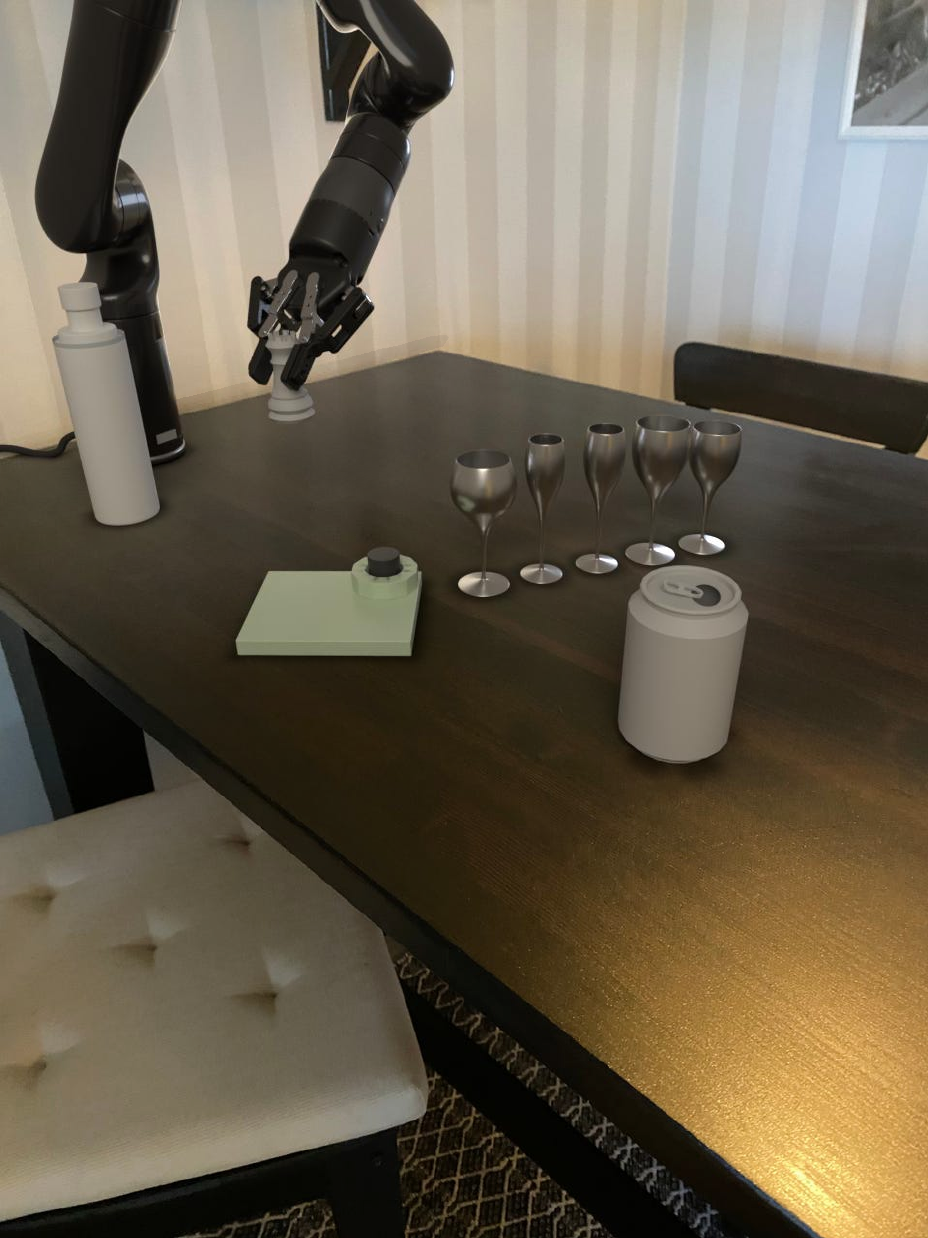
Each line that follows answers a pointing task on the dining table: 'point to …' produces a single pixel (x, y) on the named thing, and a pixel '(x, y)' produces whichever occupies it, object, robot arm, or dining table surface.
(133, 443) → the grey bottle
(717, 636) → the can
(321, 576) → the scale
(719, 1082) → the dining table surface
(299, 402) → the rook chess piece
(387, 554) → the button
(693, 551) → the goblet set
